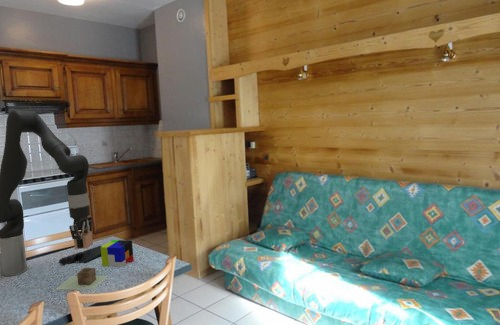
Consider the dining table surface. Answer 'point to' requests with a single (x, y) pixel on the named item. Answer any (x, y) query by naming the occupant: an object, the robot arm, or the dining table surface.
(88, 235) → the terracotta block
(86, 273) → the walnut block
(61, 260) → the dark slate chunk
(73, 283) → the build board
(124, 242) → the puzzle toy
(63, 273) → the dining table surface
